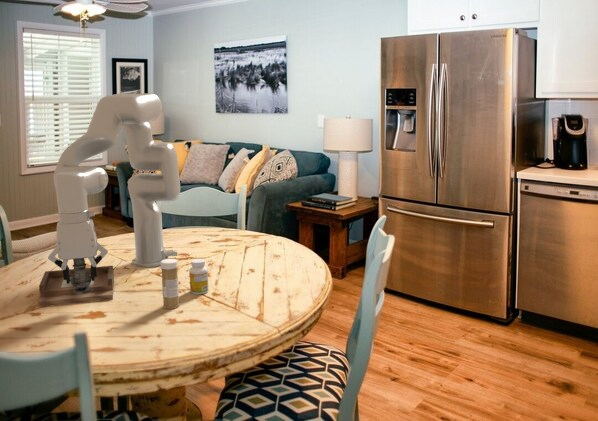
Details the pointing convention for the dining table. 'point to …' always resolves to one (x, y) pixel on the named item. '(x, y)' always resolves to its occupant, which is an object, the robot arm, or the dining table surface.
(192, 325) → the dining table surface
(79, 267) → the salt shaker
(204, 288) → the supplement bottle
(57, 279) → the wooden tray
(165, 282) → the sprinkles bottle
